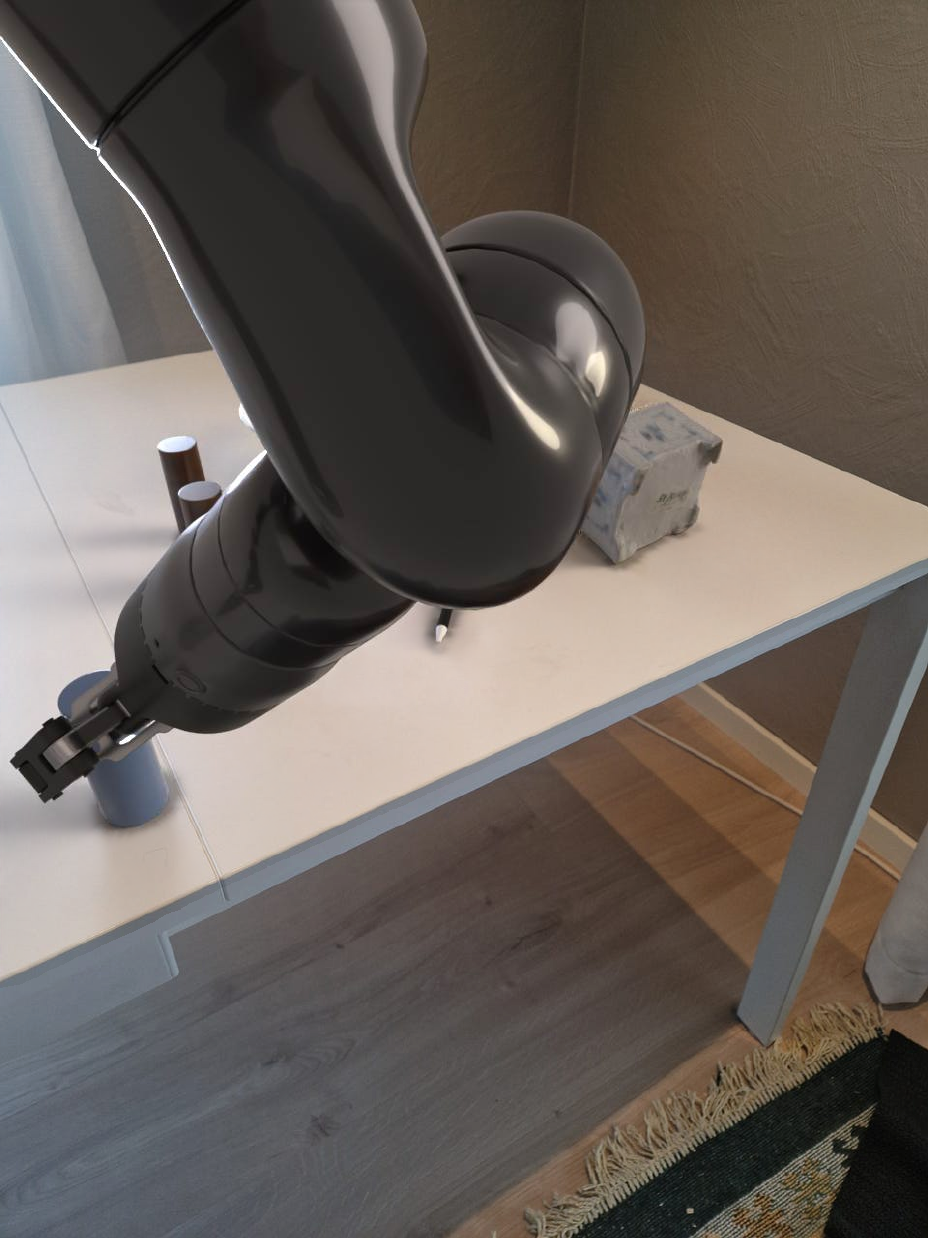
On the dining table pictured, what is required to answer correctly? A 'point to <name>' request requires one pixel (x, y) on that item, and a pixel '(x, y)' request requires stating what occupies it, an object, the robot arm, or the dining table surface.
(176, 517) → the pegs
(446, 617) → the pen
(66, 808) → the dining table surface
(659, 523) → the incense holder
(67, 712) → the cylinder
